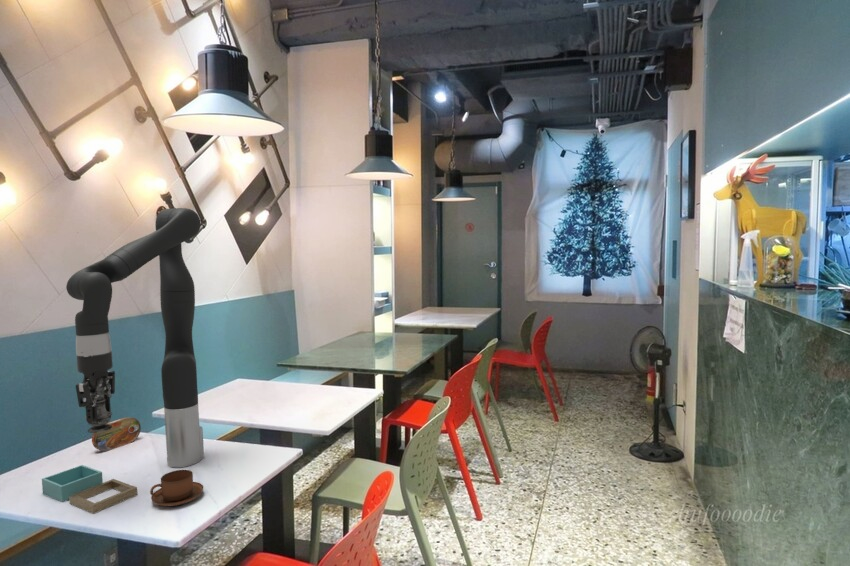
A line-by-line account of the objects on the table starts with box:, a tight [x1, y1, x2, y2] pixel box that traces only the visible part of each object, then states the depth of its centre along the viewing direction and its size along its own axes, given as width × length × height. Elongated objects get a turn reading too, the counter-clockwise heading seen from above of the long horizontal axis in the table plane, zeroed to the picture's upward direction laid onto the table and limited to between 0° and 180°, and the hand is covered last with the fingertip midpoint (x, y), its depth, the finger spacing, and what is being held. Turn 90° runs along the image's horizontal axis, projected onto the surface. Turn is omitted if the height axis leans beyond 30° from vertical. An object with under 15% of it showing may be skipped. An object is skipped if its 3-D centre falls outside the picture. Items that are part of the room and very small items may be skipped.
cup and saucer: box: [149, 469, 204, 507], centre depth 134 cm, size 12×12×6 cm
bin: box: [41, 464, 104, 503], centre depth 140 cm, size 10×10×4 cm
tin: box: [91, 416, 142, 452], centre depth 172 cm, size 15×3×8 cm, turn 152°
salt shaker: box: [84, 387, 113, 434], centre depth 133 cm, size 6×6×12 cm
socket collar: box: [68, 478, 139, 515], centre depth 135 cm, size 11×11×2 cm
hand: (99, 417), depth 133 cm, fingers closed on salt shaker, 6 cm apart
